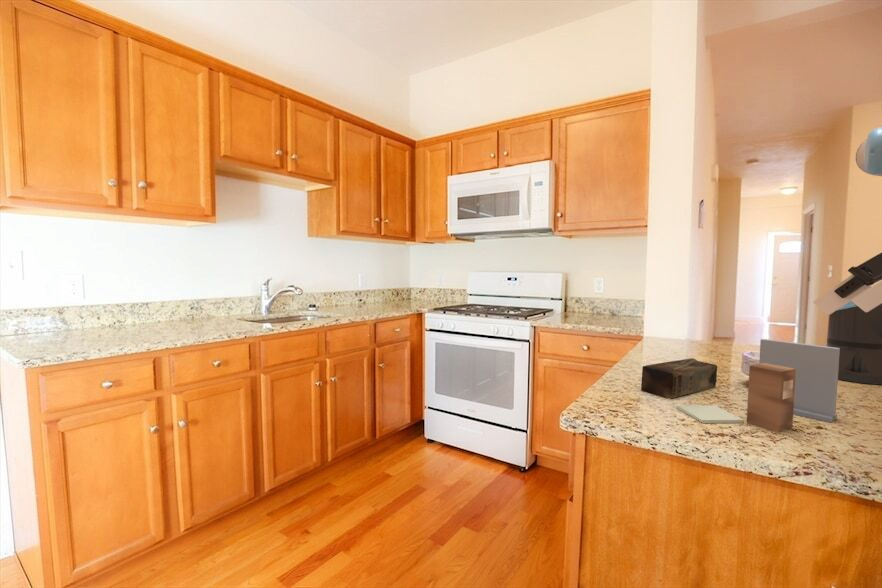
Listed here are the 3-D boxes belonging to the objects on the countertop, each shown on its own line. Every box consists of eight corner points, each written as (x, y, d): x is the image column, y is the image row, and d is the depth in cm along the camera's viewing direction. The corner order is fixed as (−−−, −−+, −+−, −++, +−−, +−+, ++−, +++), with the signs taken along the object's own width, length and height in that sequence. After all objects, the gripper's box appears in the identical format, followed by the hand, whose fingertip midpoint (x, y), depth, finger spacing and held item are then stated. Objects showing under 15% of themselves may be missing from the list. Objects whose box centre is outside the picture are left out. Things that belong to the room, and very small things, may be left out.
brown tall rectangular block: (761, 418, 79) (764, 362, 78) (792, 427, 74) (796, 368, 73) (746, 422, 76) (749, 365, 76) (778, 432, 72) (781, 371, 71)
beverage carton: (718, 388, 99) (719, 362, 98) (671, 401, 89) (672, 372, 89) (685, 380, 106) (686, 355, 105) (638, 391, 96) (639, 364, 96)
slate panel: (754, 404, 86) (758, 340, 85) (762, 401, 88) (765, 338, 87) (830, 422, 76) (835, 349, 75) (837, 418, 78) (841, 347, 77)
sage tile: (714, 408, 84) (714, 405, 84) (743, 422, 76) (744, 419, 76) (676, 408, 84) (676, 405, 84) (702, 423, 76) (702, 420, 76)
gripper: (1002, 214, 46) (823, 328, 60) (1055, 227, 56) (893, 321, 71) (934, 177, 50) (783, 291, 64) (995, 195, 61) (854, 290, 75)
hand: (840, 307), depth 68 cm, fingers open, 13 cm apart
